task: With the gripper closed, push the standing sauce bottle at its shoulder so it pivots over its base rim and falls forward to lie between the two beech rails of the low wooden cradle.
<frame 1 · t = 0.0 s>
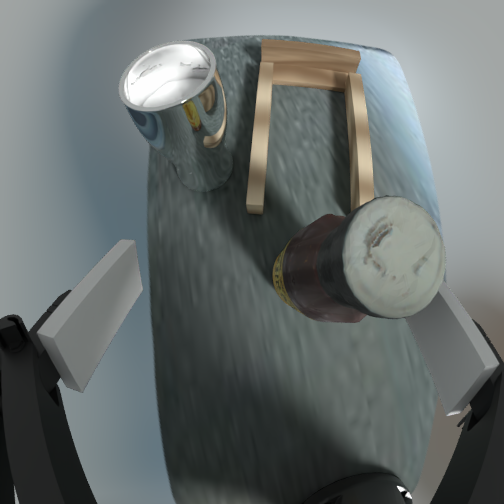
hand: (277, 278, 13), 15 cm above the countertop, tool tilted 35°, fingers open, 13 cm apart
cradle: (309, 140, 30), on the countertop
sauce bottle: (304, 278, 28), on the countertop
beer glass: (205, 166, 30), on the countertop
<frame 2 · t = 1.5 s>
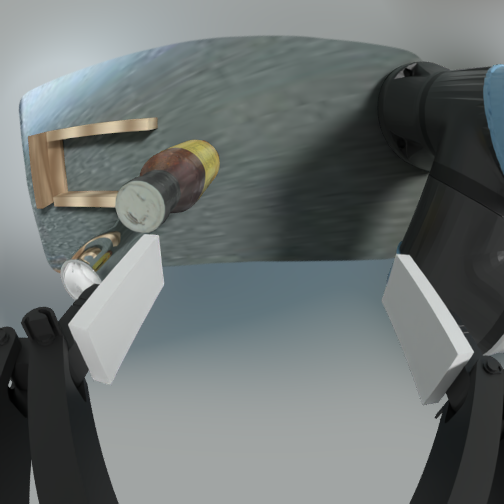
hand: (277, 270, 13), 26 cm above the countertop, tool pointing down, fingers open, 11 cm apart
cradle: (103, 162, 38), on the countertop
sauce bottle: (200, 160, 37), on the countertop
beer glass: (133, 230, 43), on the countertop
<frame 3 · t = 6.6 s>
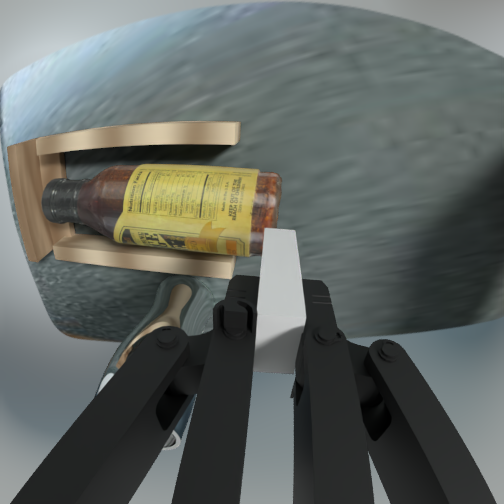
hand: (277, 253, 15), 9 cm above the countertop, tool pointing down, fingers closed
cradle: (136, 191, 24), on the countertop
sauce bottle: (282, 215, 20), point 3 cm above the countertop
beer glass: (186, 298, 29), on the countertop
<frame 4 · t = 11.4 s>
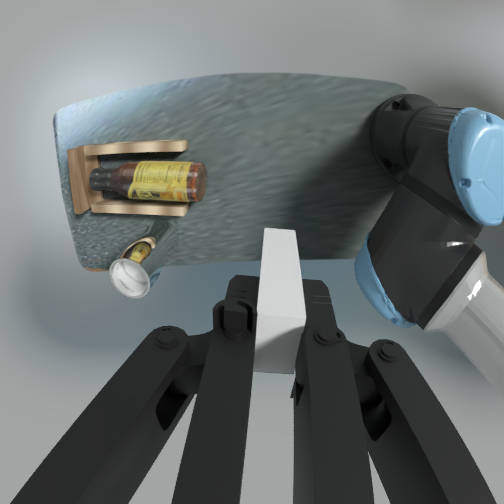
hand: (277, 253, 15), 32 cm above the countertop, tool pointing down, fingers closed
cradle: (138, 175, 46), on the countertop
sauce bottle: (204, 182, 43), point 3 cm above the countertop
beer glass: (163, 234, 51), on the countertop
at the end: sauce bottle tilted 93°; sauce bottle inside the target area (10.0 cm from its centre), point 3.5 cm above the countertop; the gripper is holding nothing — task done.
